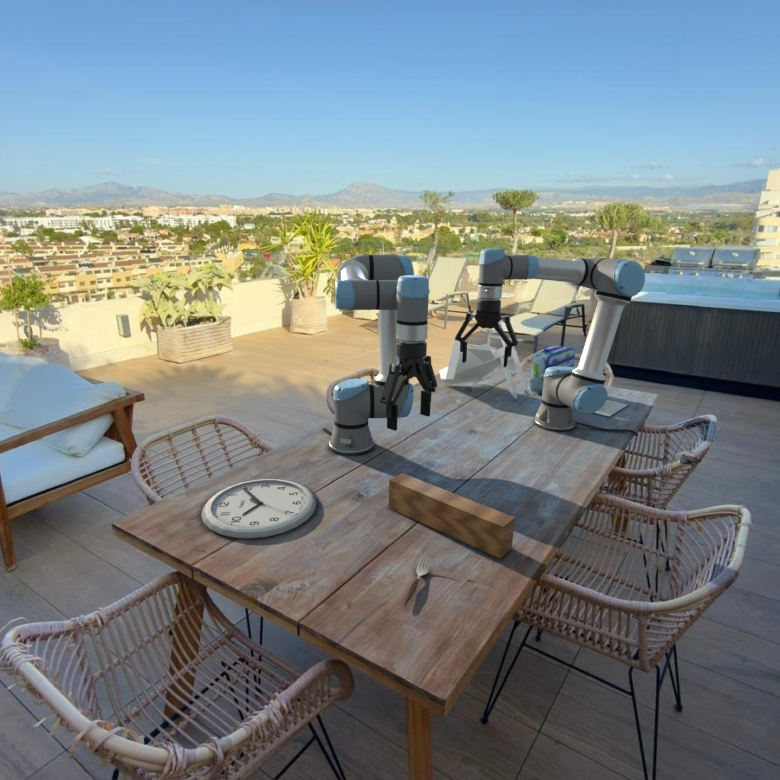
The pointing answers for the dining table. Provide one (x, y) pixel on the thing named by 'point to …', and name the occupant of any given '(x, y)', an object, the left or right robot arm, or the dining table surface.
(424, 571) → the fork
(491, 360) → the white plastic object
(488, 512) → the bar
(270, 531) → the wall clock
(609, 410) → the invitation card
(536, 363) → the lunch box
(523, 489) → the dining table surface
